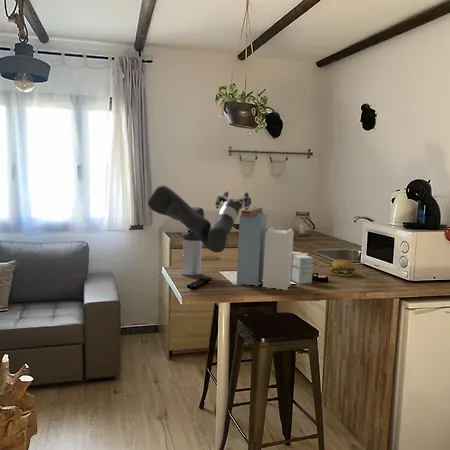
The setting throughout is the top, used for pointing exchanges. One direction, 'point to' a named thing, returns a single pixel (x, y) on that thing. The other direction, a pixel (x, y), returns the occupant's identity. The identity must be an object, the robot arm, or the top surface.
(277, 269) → the end-cap post
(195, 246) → the robot arm
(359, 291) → the top surface
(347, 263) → the food
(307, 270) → the supplement box
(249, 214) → the walnut slat
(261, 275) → the slate stand
